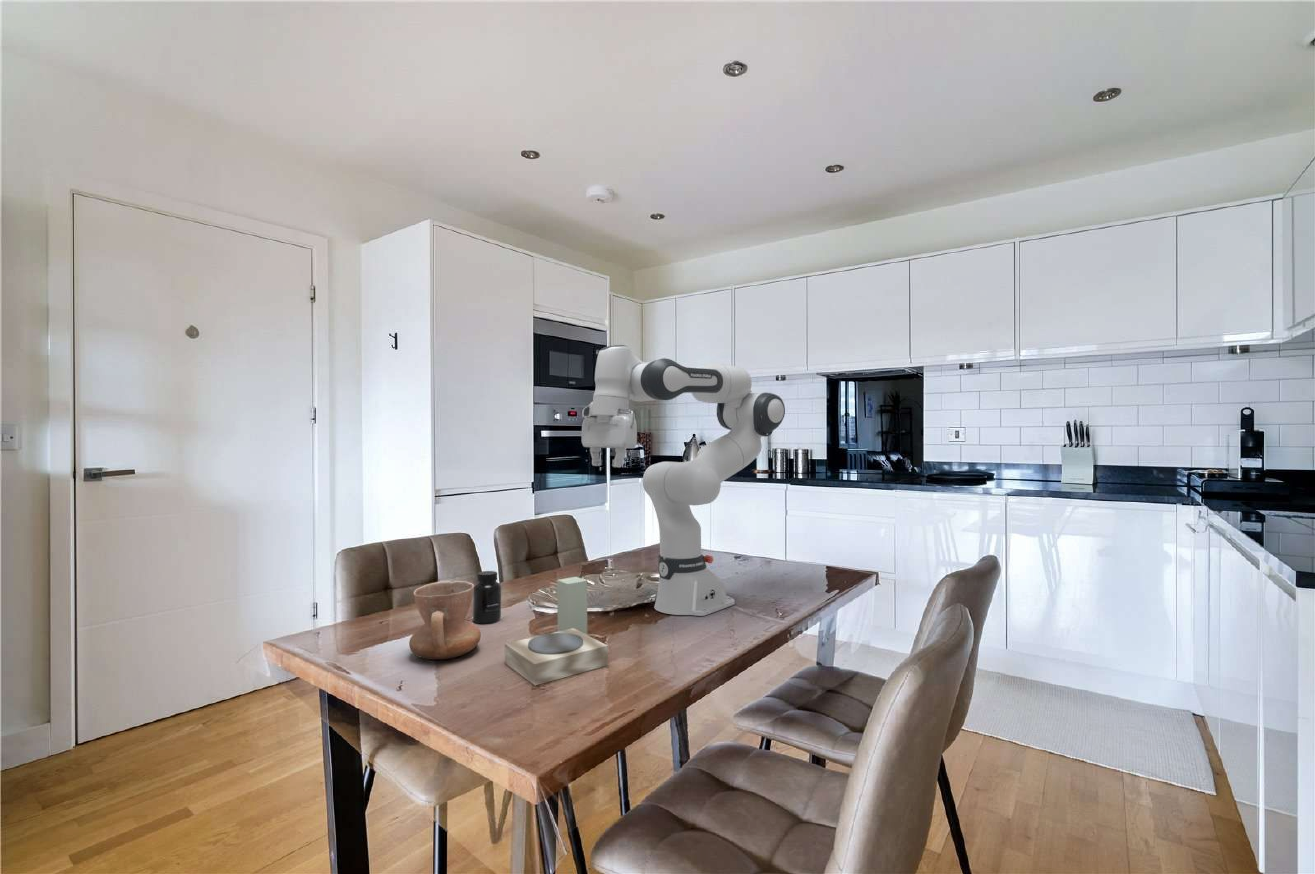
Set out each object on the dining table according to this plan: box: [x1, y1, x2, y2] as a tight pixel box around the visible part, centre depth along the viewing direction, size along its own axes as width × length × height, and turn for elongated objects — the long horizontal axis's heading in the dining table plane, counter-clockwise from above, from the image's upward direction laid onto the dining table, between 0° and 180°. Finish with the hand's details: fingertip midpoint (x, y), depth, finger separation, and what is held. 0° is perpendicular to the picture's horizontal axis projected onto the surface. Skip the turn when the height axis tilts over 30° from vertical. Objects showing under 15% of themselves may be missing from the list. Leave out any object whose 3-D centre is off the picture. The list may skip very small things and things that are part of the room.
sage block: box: [556, 576, 588, 635], centre depth 141 cm, size 5×5×13 cm
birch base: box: [504, 628, 609, 686], centre depth 124 cm, size 16×14×5 cm
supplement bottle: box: [472, 570, 502, 625], centre depth 153 cm, size 7×7×12 cm
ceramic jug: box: [408, 580, 482, 660], centre depth 130 cm, size 18×14×14 cm
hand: (606, 466), depth 149 cm, fingers open, 8 cm apart
